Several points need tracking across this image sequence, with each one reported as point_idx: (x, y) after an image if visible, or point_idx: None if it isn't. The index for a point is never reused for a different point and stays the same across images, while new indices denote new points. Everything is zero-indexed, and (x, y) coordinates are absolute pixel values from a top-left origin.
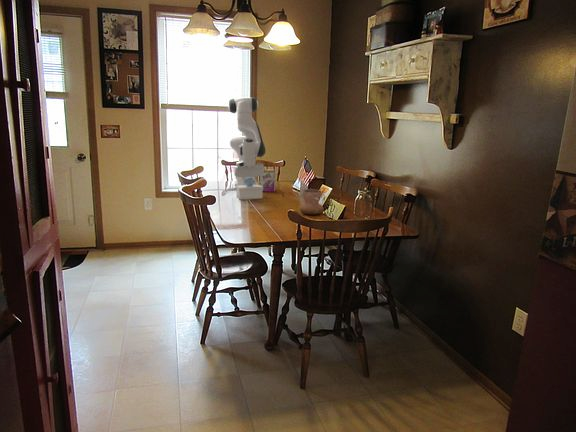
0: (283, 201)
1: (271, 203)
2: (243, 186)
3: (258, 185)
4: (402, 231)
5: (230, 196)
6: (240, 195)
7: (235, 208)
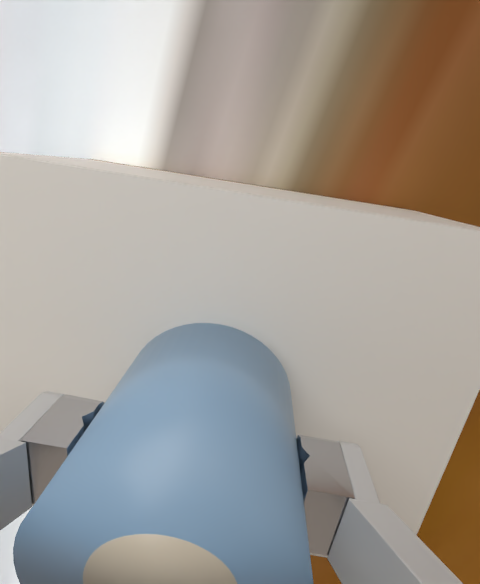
0: (471, 557)
1: (329, 569)
2: (90, 358)
3: (445, 366)
4: None
5: (11, 115)
6: None
7: (13, 578)
